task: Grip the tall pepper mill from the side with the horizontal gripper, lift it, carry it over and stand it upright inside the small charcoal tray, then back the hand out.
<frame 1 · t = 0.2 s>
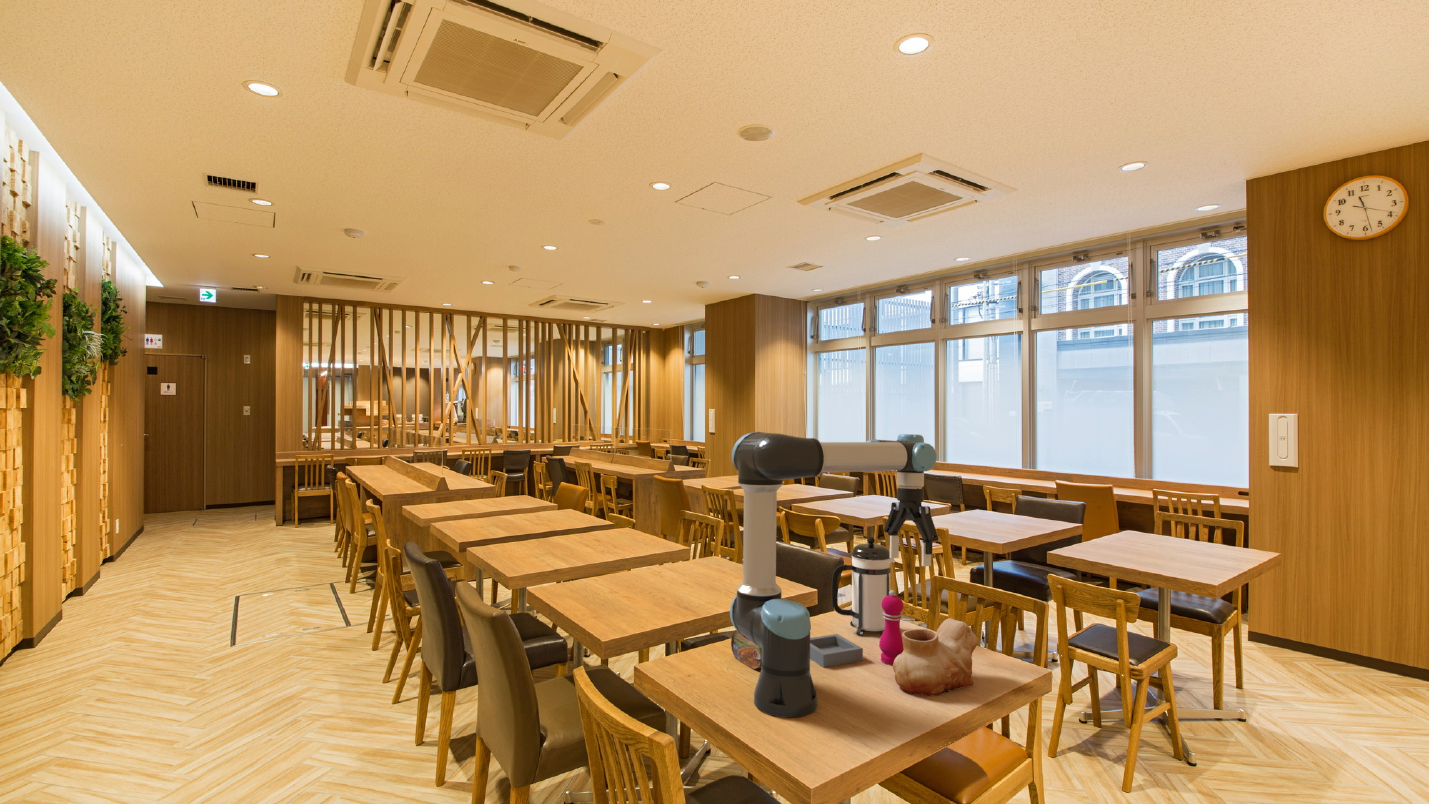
hand: (909, 561, 188), 27 cm above the table, tool pointing down, fingers open, 13 cm apart
charcoal tray: (830, 656, 188), on the table
pepper mill: (892, 662, 184), on the table
ceramic vessel: (937, 683, 170), on the table
coffee press: (867, 631, 210), on the table
tin: (749, 664, 183), on the table
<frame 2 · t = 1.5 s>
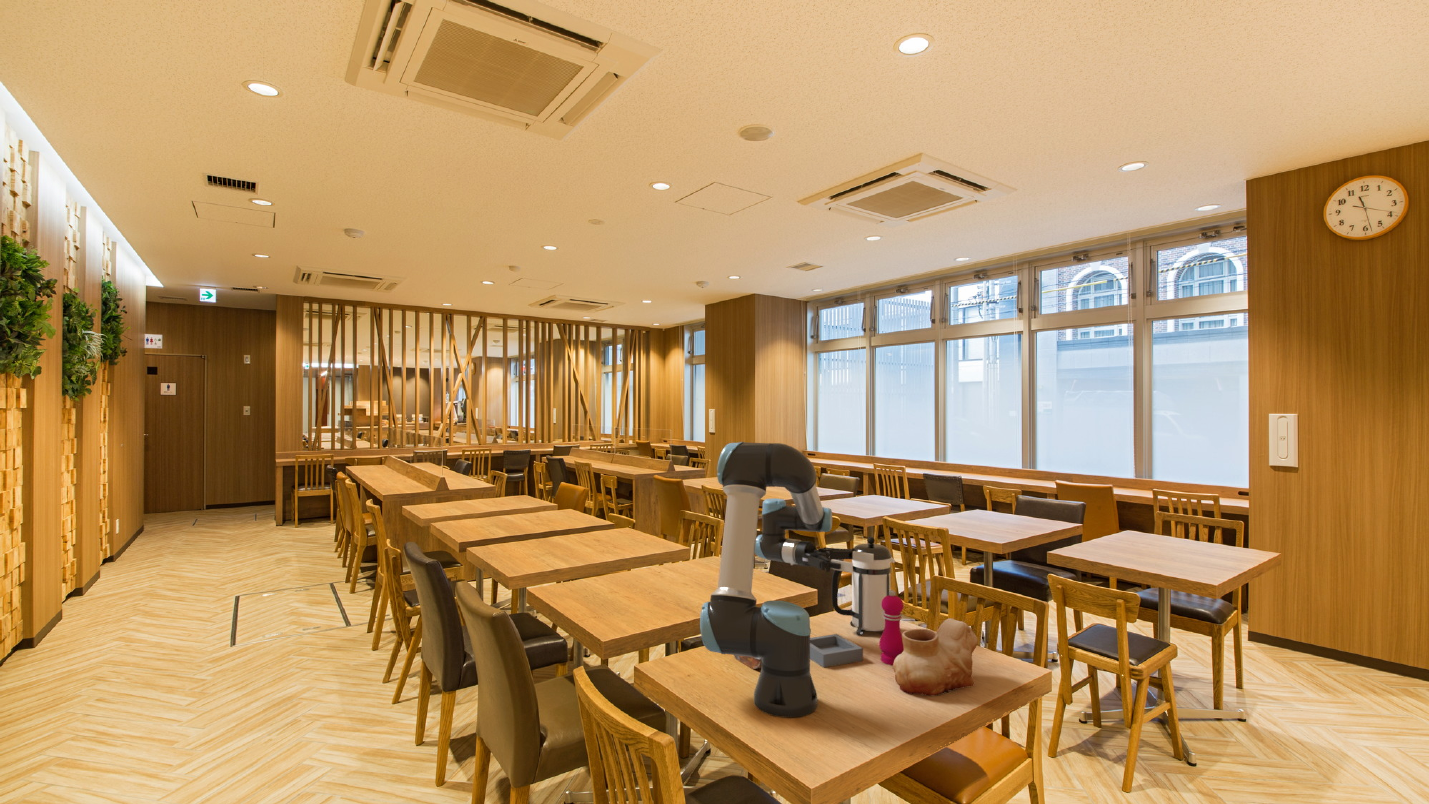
hand: (863, 563, 190), 26 cm above the table, tool horizontal, fingers open, 13 cm apart
nothing on the table moved.
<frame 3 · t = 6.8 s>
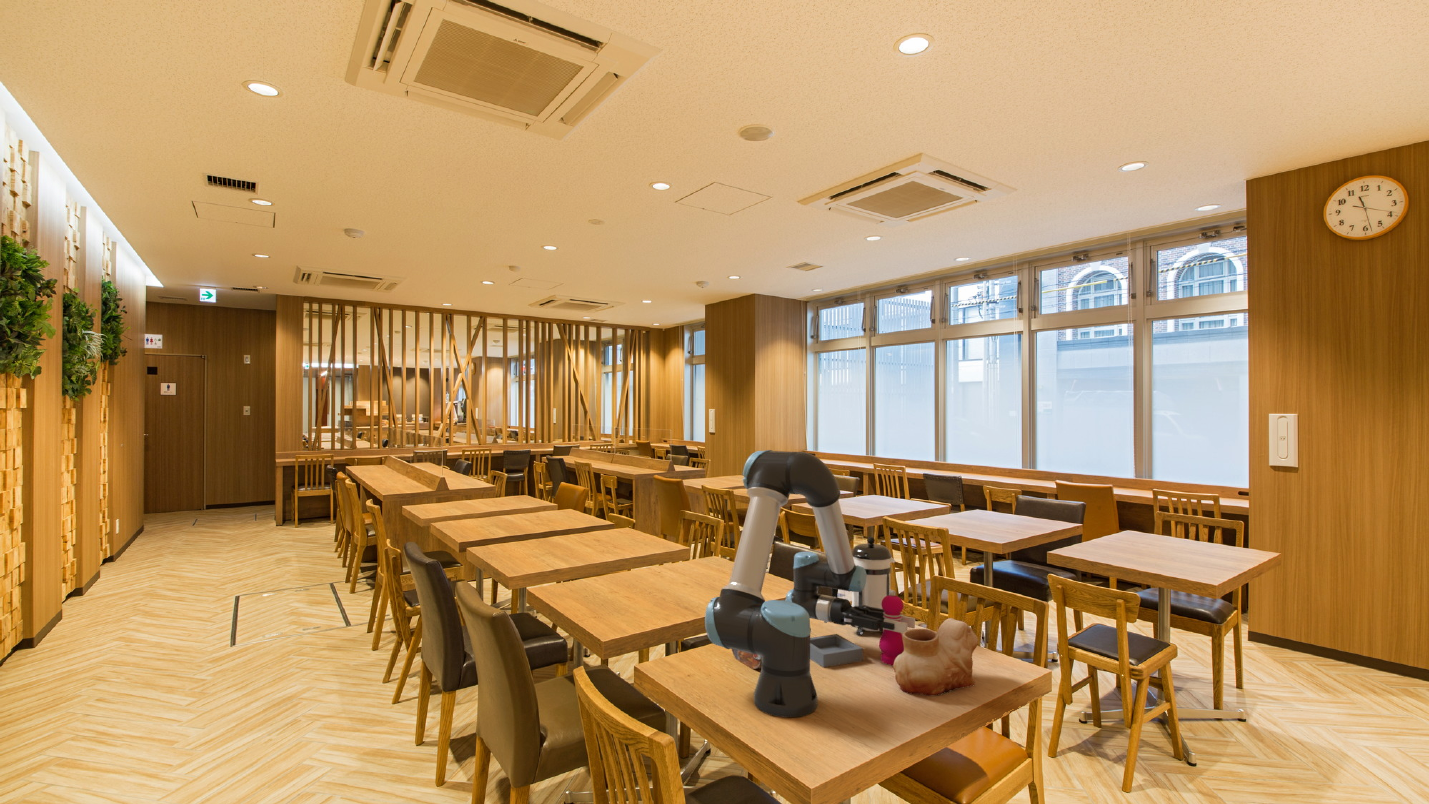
hand: (910, 625, 181), 11 cm above the table, tool horizontal, fingers closed on pepper mill, 5 cm apart
pepper mill: (892, 662, 184), on the table, touching gripper
everything else where it was.
when the fingers open (13 cm above the table, at t = 12.5 s): pepper mill drops 1 cm, resting on charcoal tray.
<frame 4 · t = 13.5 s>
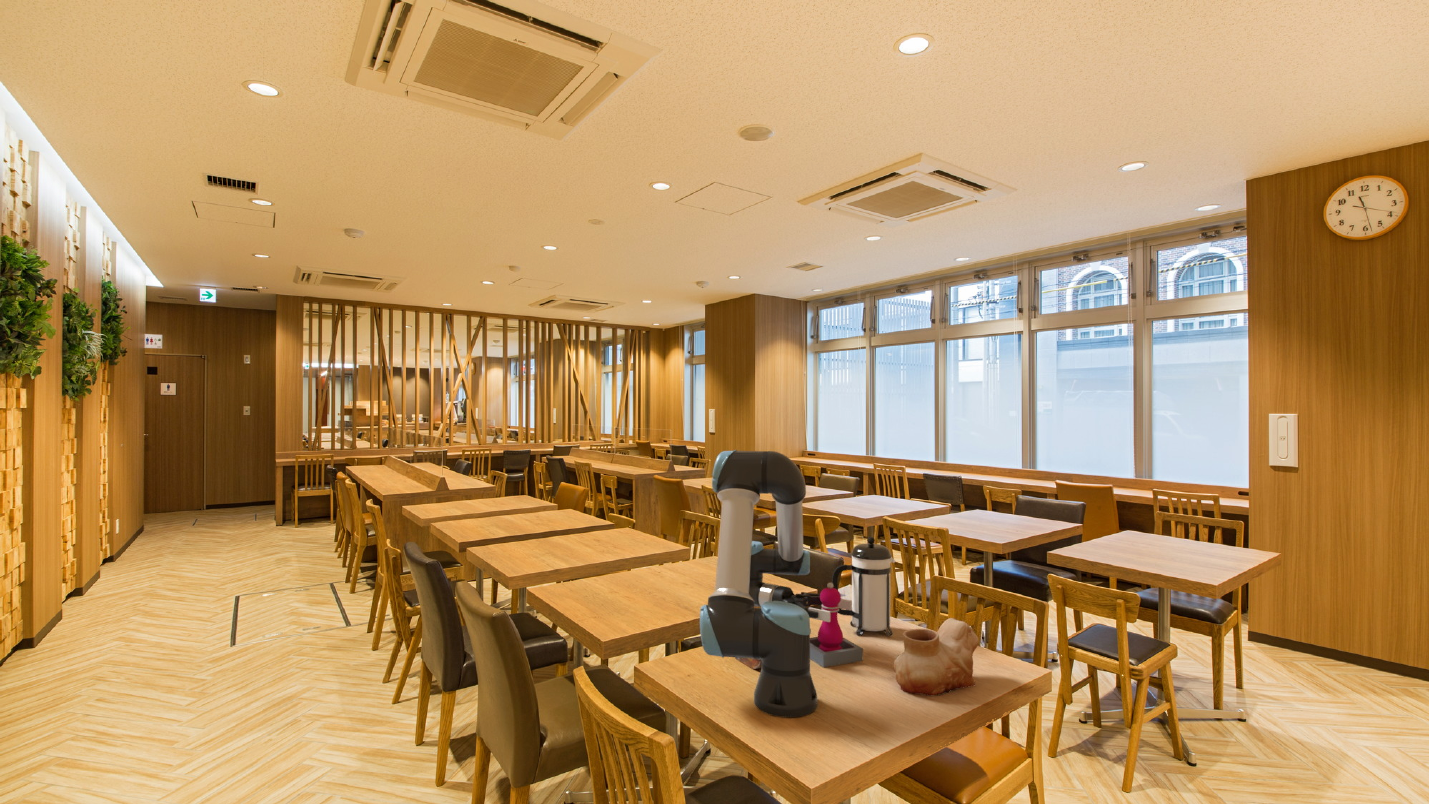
hand: (841, 611, 186), 14 cm above the table, tool horizontal, fingers open, 13 cm apart
pepper mill: (830, 653, 188), point 1 cm above the table, touching charcoal tray
everything else where it was.
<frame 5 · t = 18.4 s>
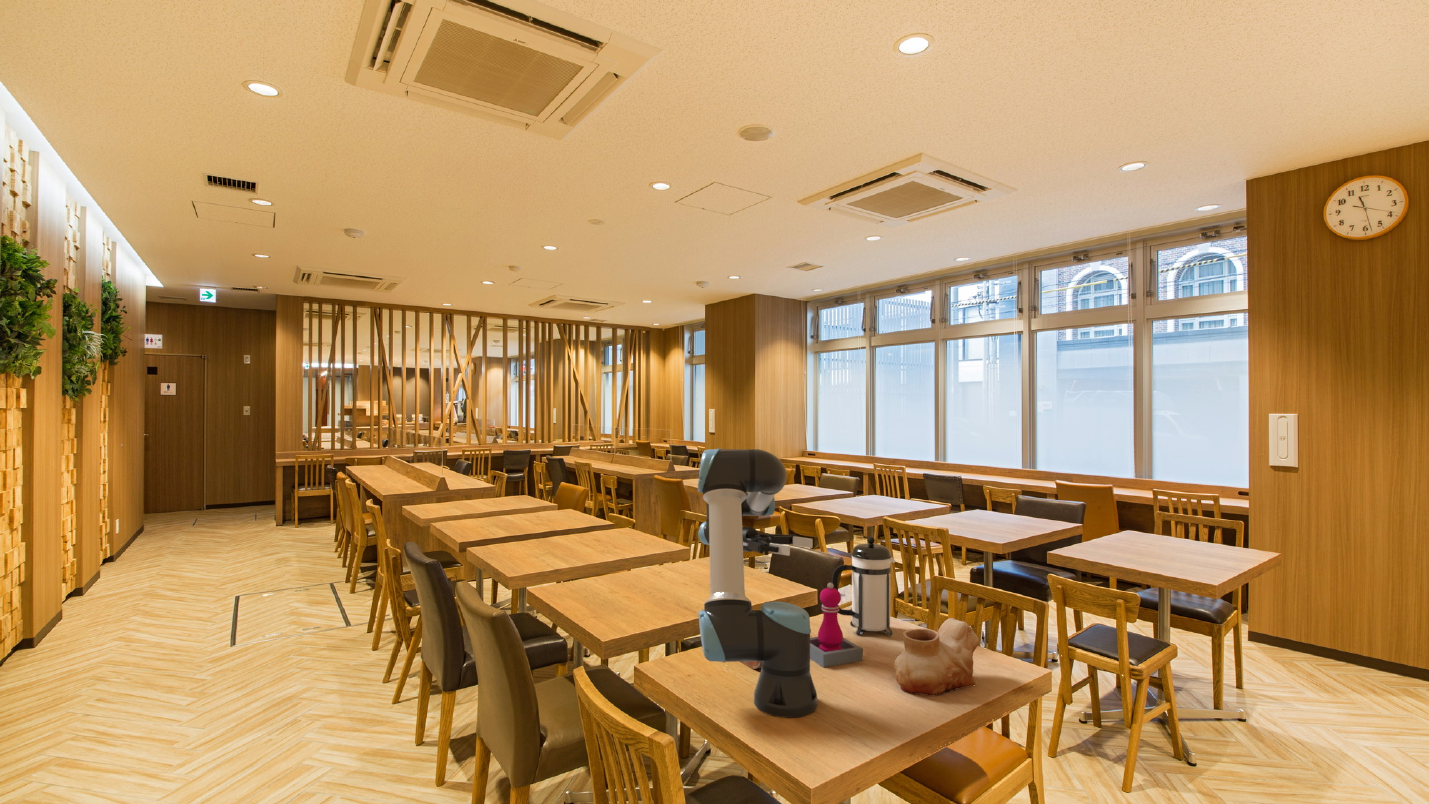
hand: (801, 547, 195), 30 cm above the table, tool horizontal, fingers open, 13 cm apart
nothing on the table moved.
at the end: pepper mill 0.0 cm off-centre on the charcoal tray, point 0.8 cm above the charcoal tray's base; pepper mill tilted 0°; the gripper is holding nothing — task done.
